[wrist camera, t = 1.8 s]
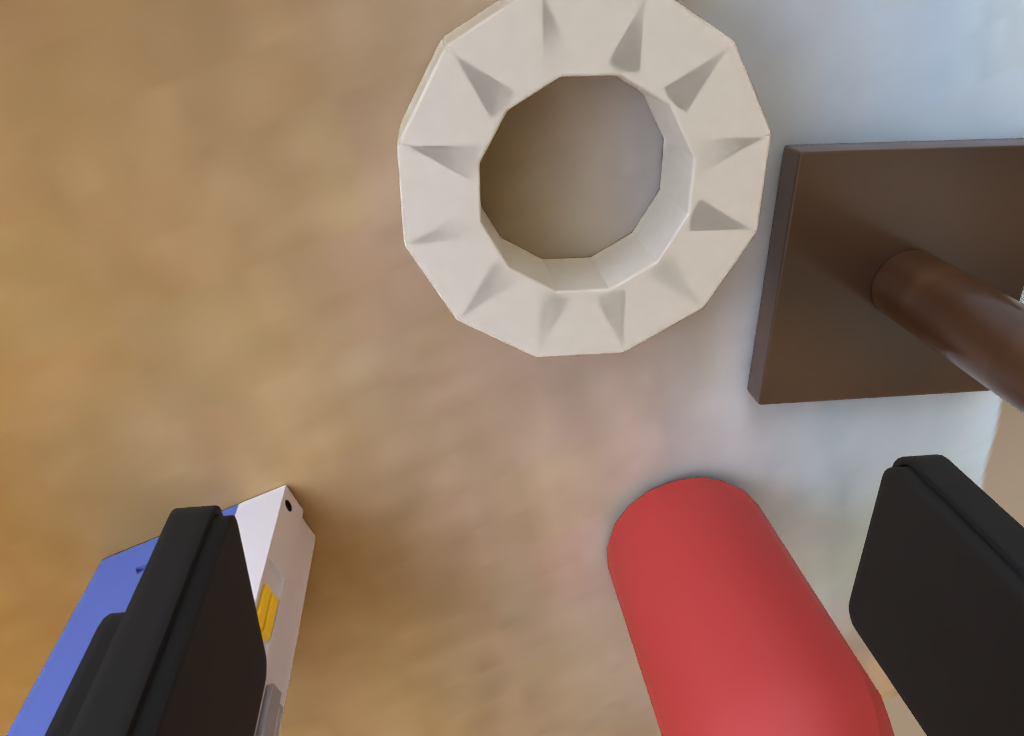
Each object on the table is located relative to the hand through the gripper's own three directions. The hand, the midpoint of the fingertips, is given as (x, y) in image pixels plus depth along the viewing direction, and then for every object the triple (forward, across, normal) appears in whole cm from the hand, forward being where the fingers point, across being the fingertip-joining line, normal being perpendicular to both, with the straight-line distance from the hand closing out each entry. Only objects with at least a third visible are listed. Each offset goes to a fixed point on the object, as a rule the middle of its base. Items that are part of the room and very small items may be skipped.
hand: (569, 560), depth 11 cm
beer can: (+16, -8, +13) cm, 22 cm away
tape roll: (+16, -3, -2) cm, 16 cm away
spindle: (+16, -14, +2) cm, 21 cm away
